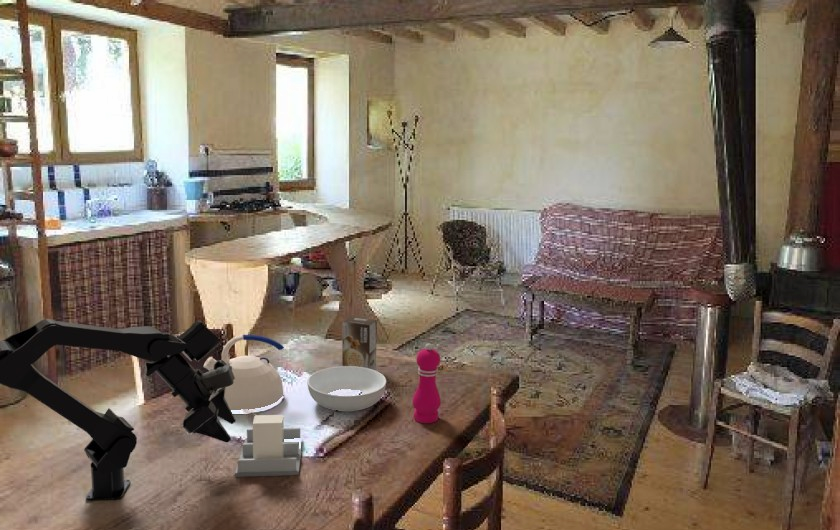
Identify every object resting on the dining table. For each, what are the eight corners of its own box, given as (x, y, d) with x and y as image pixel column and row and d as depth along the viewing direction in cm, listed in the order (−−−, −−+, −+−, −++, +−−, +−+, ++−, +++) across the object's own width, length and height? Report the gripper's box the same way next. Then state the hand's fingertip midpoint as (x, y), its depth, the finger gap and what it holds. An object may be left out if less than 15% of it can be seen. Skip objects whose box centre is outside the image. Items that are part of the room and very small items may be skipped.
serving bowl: (294, 414, 166) (294, 389, 165) (325, 385, 186) (325, 362, 185) (371, 425, 161) (372, 399, 160) (395, 394, 181) (395, 370, 180)
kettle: (202, 389, 180) (200, 326, 176) (278, 382, 187) (278, 321, 184) (206, 419, 161) (204, 350, 158) (290, 410, 169) (290, 343, 165)
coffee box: (377, 370, 199) (378, 319, 196) (369, 377, 193) (370, 325, 190) (349, 366, 202) (350, 316, 199) (341, 372, 196) (341, 321, 193)
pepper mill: (406, 420, 165) (409, 344, 161) (420, 410, 171) (422, 337, 167) (432, 426, 162) (435, 350, 158) (444, 416, 168) (448, 342, 164)
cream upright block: (282, 466, 138) (282, 422, 136) (253, 467, 137) (252, 423, 135) (283, 457, 142) (283, 414, 140) (255, 458, 141) (254, 415, 139)
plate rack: (298, 474, 137) (298, 459, 136) (234, 476, 135) (234, 461, 134) (302, 441, 152) (302, 427, 151) (245, 442, 150) (245, 428, 149)
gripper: (206, 368, 124) (259, 426, 128) (218, 339, 142) (264, 391, 146) (159, 404, 124) (214, 461, 128) (177, 371, 142) (225, 422, 146)
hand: (231, 431), depth 137 cm, fingers open, 9 cm apart
